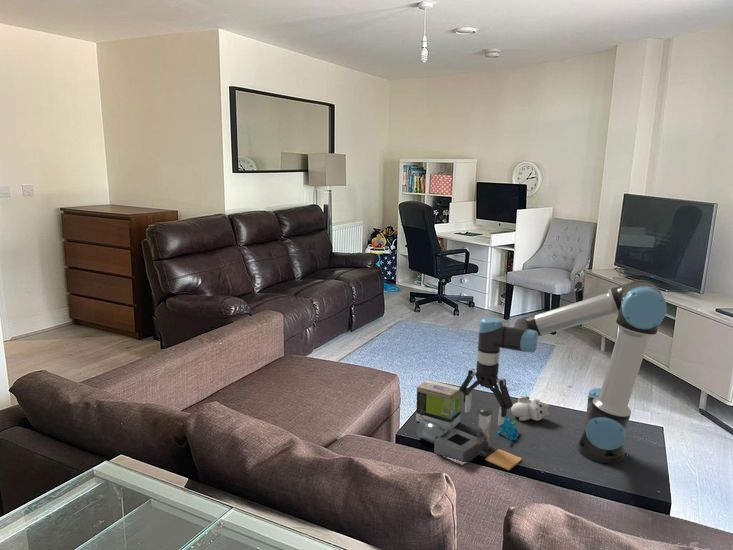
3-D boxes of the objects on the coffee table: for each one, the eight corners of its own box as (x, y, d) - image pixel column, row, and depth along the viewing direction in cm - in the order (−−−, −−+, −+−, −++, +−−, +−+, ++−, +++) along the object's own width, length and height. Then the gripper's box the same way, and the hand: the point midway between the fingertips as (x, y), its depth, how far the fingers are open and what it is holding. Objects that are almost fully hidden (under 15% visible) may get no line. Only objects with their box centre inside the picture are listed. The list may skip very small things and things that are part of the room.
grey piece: (481, 452, 187) (482, 434, 186) (462, 466, 178) (463, 447, 177) (431, 431, 202) (432, 414, 200) (412, 442, 193) (412, 424, 192)
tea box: (460, 421, 210) (462, 386, 207) (449, 432, 201) (451, 395, 198) (427, 411, 218) (428, 378, 215) (415, 421, 210) (416, 386, 207)
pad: (521, 460, 182) (522, 458, 182) (508, 470, 176) (508, 468, 176) (498, 450, 188) (498, 448, 188) (485, 460, 182) (485, 458, 182)
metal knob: (493, 446, 191) (495, 410, 188) (485, 451, 188) (487, 415, 185) (480, 441, 195) (482, 405, 192) (472, 446, 191) (474, 410, 188)
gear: (511, 442, 191) (496, 417, 195) (499, 449, 194) (484, 424, 198) (525, 435, 199) (510, 411, 203) (513, 441, 202) (499, 418, 206)
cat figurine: (510, 395, 212) (549, 395, 208) (510, 398, 219) (548, 398, 215) (511, 420, 209) (551, 420, 205) (511, 421, 216) (550, 422, 212)
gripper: (526, 368, 179) (520, 426, 183) (463, 349, 196) (460, 403, 200) (515, 374, 174) (509, 433, 178) (452, 354, 190) (448, 409, 195)
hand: (483, 417), depth 189 cm, fingers open, 13 cm apart
